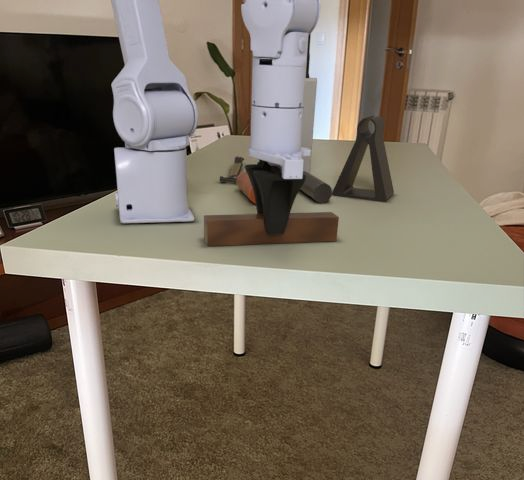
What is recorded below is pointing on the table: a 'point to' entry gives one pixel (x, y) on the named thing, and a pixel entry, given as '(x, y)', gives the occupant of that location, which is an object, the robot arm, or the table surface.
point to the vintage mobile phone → (308, 113)
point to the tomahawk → (233, 170)
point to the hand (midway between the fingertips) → (271, 229)
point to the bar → (253, 230)
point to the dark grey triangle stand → (378, 162)
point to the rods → (310, 187)
